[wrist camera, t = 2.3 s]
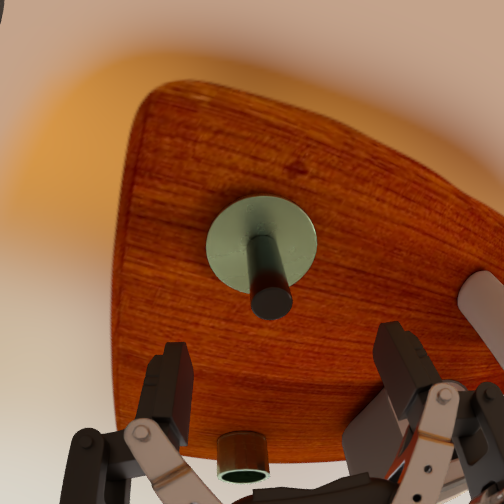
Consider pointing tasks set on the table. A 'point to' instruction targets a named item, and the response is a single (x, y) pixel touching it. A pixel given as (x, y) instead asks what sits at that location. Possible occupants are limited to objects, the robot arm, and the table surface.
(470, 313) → the beverage can
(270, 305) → the lid
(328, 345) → the table surface
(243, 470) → the pot
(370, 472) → the alarm clock
